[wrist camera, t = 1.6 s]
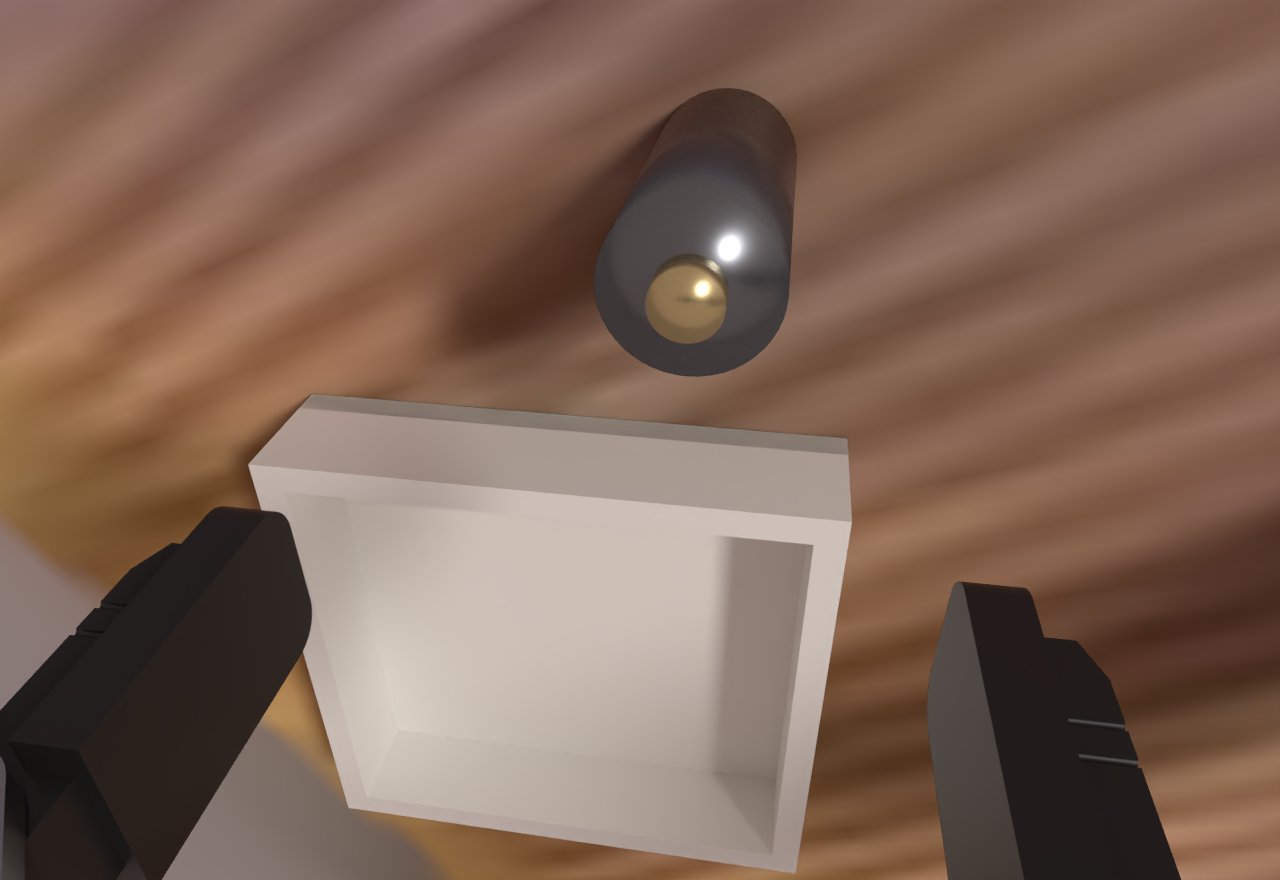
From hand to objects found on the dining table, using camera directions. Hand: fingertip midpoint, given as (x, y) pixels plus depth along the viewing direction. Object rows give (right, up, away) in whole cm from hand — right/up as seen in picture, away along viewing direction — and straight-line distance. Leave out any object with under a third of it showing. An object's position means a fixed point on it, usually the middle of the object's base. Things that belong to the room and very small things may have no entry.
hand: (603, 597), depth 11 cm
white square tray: (-2, -5, +26) cm, 26 cm away
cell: (+3, +10, +15) cm, 18 cm away
